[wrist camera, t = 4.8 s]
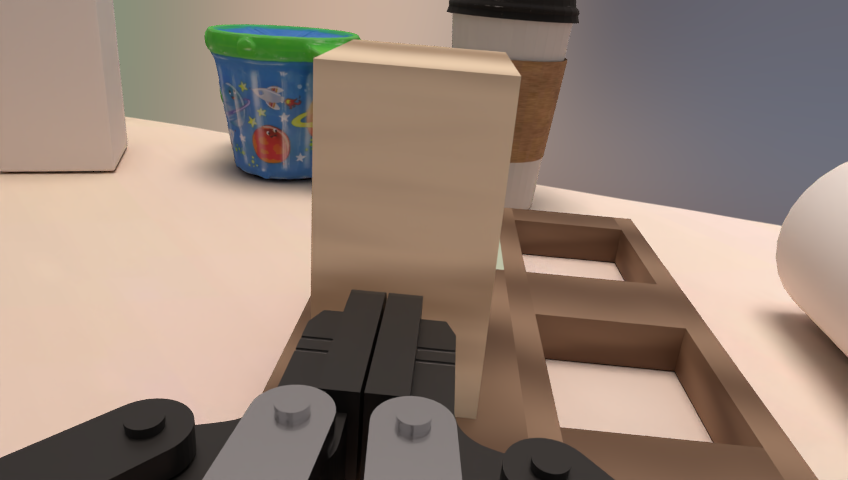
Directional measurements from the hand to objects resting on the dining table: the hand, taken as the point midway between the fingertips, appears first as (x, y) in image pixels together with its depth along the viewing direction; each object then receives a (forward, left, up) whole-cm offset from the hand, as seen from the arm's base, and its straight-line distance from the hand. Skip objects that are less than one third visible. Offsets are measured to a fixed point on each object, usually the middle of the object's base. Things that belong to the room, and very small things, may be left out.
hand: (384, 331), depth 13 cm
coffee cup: (+29, +12, -7) cm, 32 cm away
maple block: (+6, +4, -5) cm, 9 cm away
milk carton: (+14, +39, -7) cm, 42 cm away
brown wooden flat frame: (+13, +3, -7) cm, 15 cm away
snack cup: (+24, +27, -7) cm, 37 cm away
